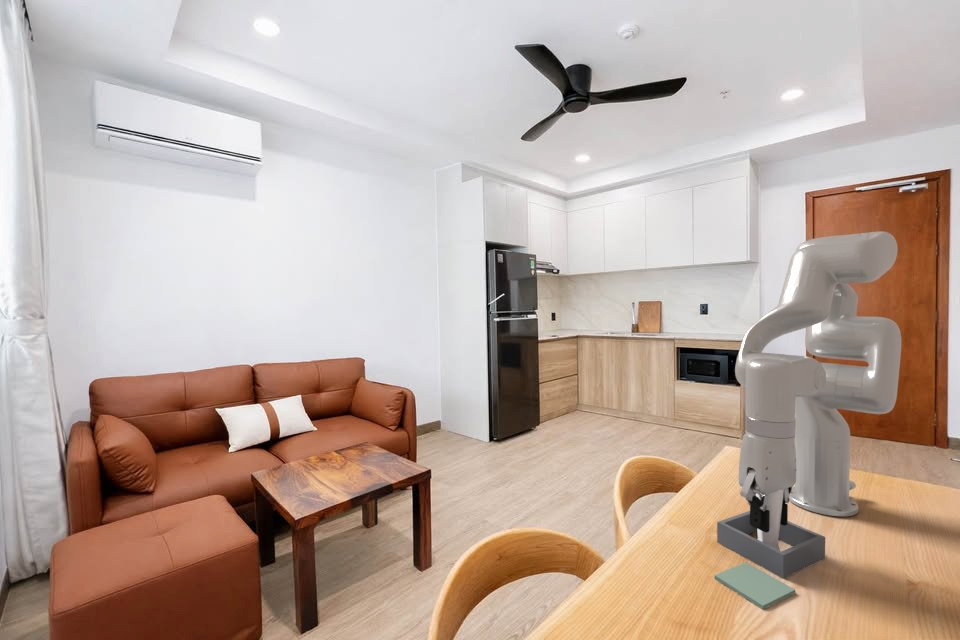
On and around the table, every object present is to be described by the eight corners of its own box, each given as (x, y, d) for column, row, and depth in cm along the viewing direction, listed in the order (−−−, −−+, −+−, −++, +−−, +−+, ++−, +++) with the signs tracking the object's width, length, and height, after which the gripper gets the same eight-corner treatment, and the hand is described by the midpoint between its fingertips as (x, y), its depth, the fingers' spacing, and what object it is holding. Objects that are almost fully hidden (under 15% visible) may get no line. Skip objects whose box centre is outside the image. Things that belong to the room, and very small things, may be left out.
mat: (745, 565, 75) (745, 562, 75) (795, 593, 68) (795, 589, 68) (714, 578, 72) (714, 575, 72) (762, 609, 65) (762, 605, 65)
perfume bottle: (788, 558, 77) (790, 476, 76) (761, 556, 78) (763, 474, 77) (776, 544, 81) (778, 466, 81) (750, 542, 82) (752, 464, 82)
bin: (757, 527, 88) (757, 507, 87) (825, 559, 77) (825, 537, 76) (717, 542, 83) (717, 521, 82) (783, 578, 72) (783, 555, 72)
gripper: (777, 416, 85) (776, 506, 86) (718, 428, 78) (718, 526, 79) (820, 426, 79) (818, 524, 79) (760, 440, 72) (759, 547, 72)
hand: (768, 524), depth 79 cm, fingers closed on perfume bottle, 4 cm apart
